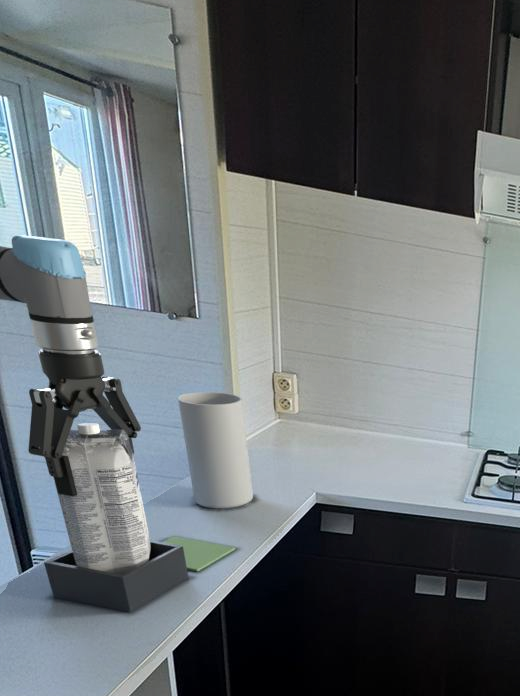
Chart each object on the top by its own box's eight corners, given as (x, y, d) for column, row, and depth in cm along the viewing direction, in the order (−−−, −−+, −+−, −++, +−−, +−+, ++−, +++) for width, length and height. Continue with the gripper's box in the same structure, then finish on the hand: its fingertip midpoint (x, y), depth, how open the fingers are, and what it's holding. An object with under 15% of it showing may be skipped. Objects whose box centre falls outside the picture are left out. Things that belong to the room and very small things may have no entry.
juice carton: (152, 580, 112) (123, 434, 101) (78, 588, 107) (38, 435, 96) (155, 559, 119) (128, 419, 107) (85, 565, 114) (49, 419, 102)
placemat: (131, 559, 123) (131, 556, 123) (174, 538, 133) (173, 536, 133) (197, 571, 122) (197, 569, 122) (235, 549, 132) (234, 547, 132)
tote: (53, 597, 109) (43, 562, 106) (119, 564, 121) (111, 532, 118) (130, 612, 108) (122, 577, 105) (188, 578, 120) (183, 546, 117)
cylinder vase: (226, 487, 161) (213, 389, 150) (265, 498, 158) (254, 399, 147) (182, 501, 150) (164, 397, 139) (222, 513, 147) (207, 407, 136)
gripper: (16, 362, 85) (55, 510, 95) (151, 345, 107) (172, 468, 116) (-33, 353, 86) (10, 502, 95) (111, 338, 107) (135, 461, 117)
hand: (99, 483), depth 106 cm, fingers closed on juice carton, 11 cm apart
